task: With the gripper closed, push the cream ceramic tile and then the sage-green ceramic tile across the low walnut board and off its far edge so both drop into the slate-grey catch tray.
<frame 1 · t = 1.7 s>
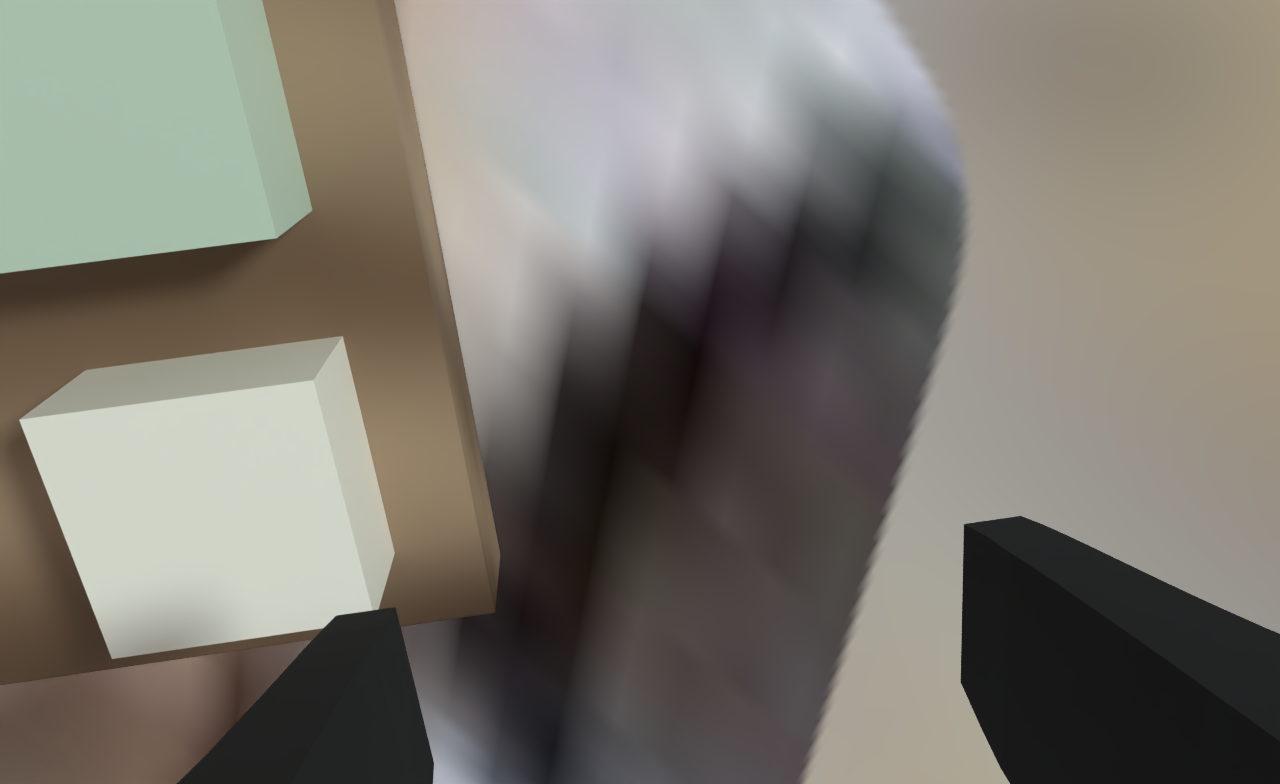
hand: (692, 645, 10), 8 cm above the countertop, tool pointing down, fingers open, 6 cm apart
cream tile: (248, 466, 16), point 2 cm above the countertop, touching walnut board
green tile: (136, 87, 13), point 2 cm above the countertop, touching walnut board
walnut board: (186, 296, 16), on the countertop
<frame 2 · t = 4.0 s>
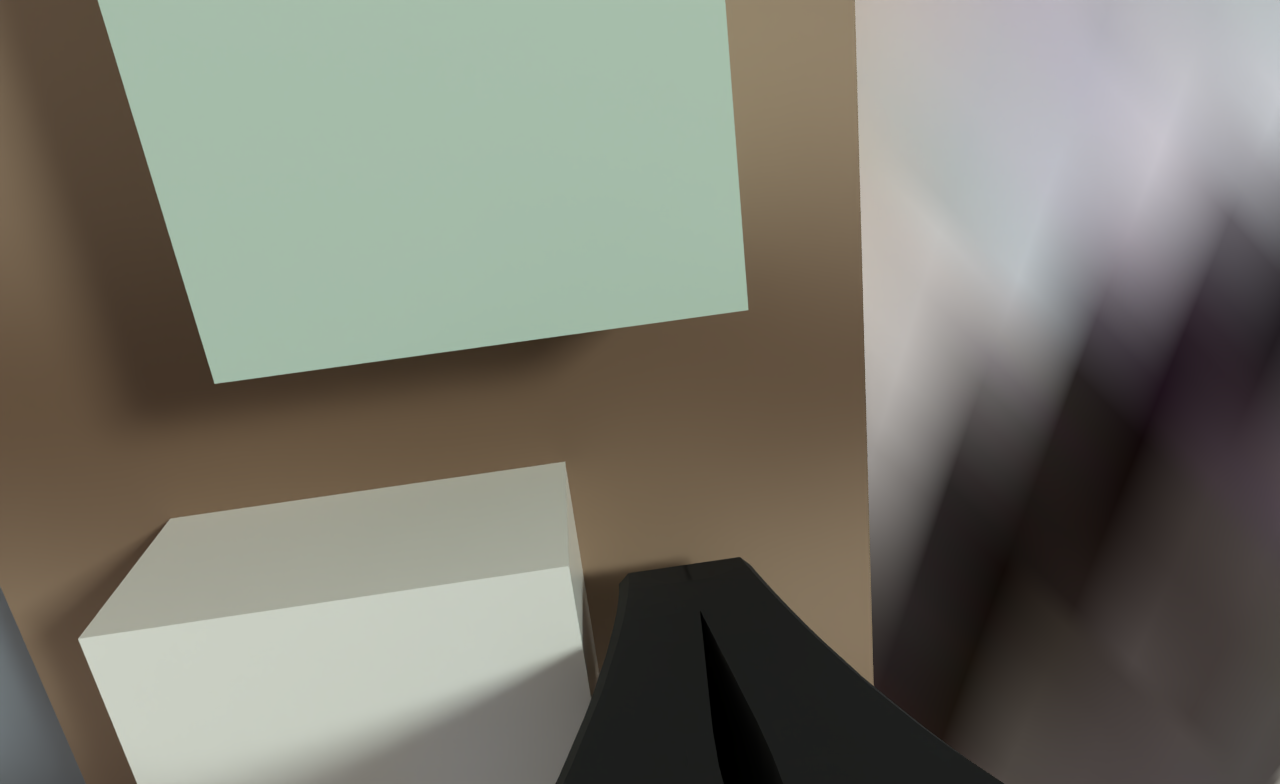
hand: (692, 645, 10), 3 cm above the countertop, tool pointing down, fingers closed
cream tile: (409, 651, 10), point 2 cm above the countertop, touching gripper, walnut board
green tile: (458, 56, 8), point 2 cm above the countertop, touching walnut board
walnut board: (444, 369, 11), on the countertop
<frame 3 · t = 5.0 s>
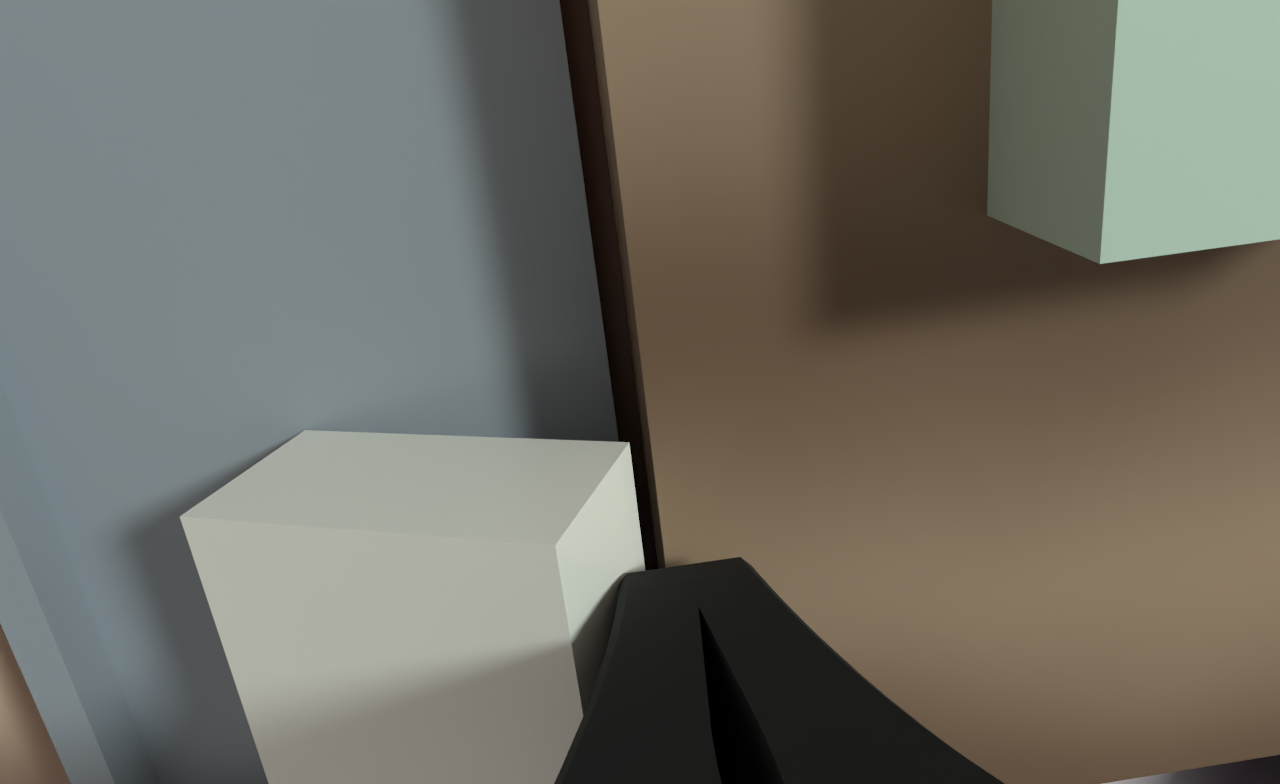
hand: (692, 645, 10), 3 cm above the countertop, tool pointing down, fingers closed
cream tile: (487, 589, 11), point 1 cm above the countertop, tilted 23°, touching gripper
catch tray: (284, 310, 11), on the countertop
walnut board: (992, 295, 12), on the countertop
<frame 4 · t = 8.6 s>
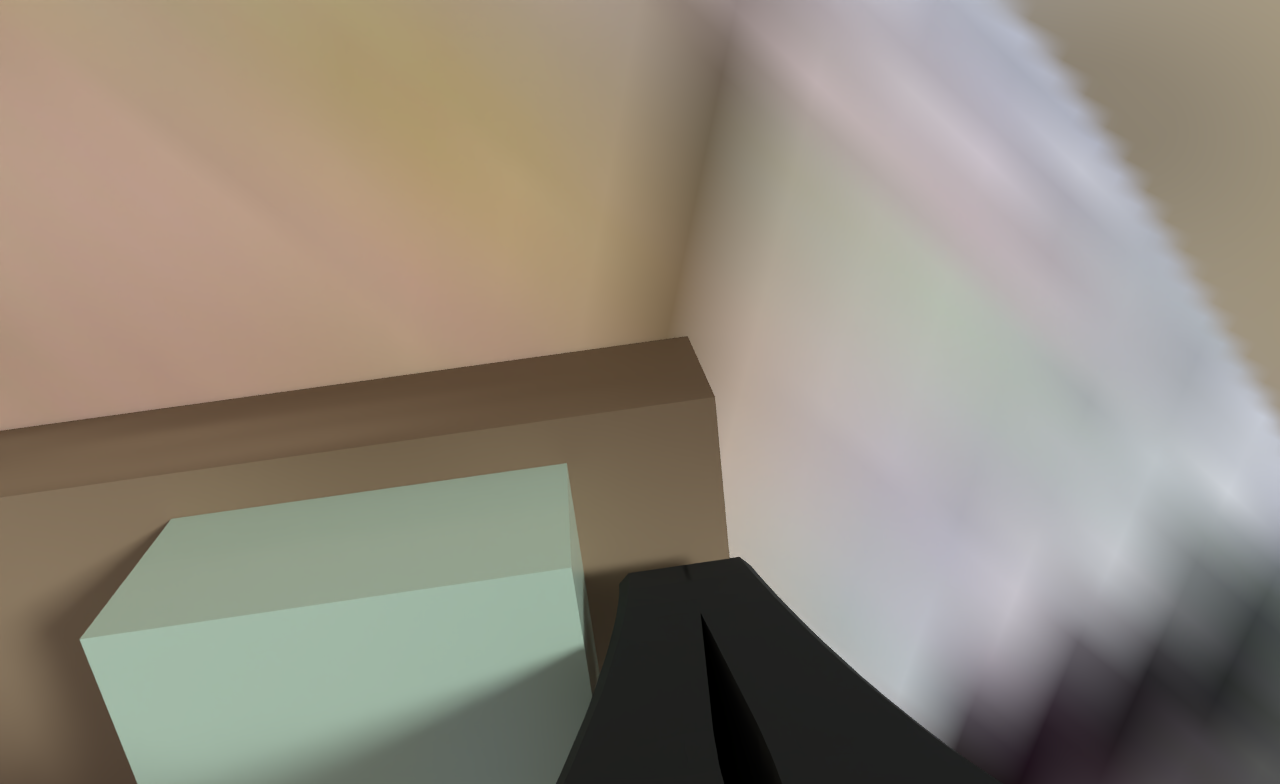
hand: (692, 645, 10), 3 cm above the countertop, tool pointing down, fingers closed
green tile: (410, 652, 10), point 2 cm above the countertop, touching gripper
walnut board: (415, 776, 13), on the countertop
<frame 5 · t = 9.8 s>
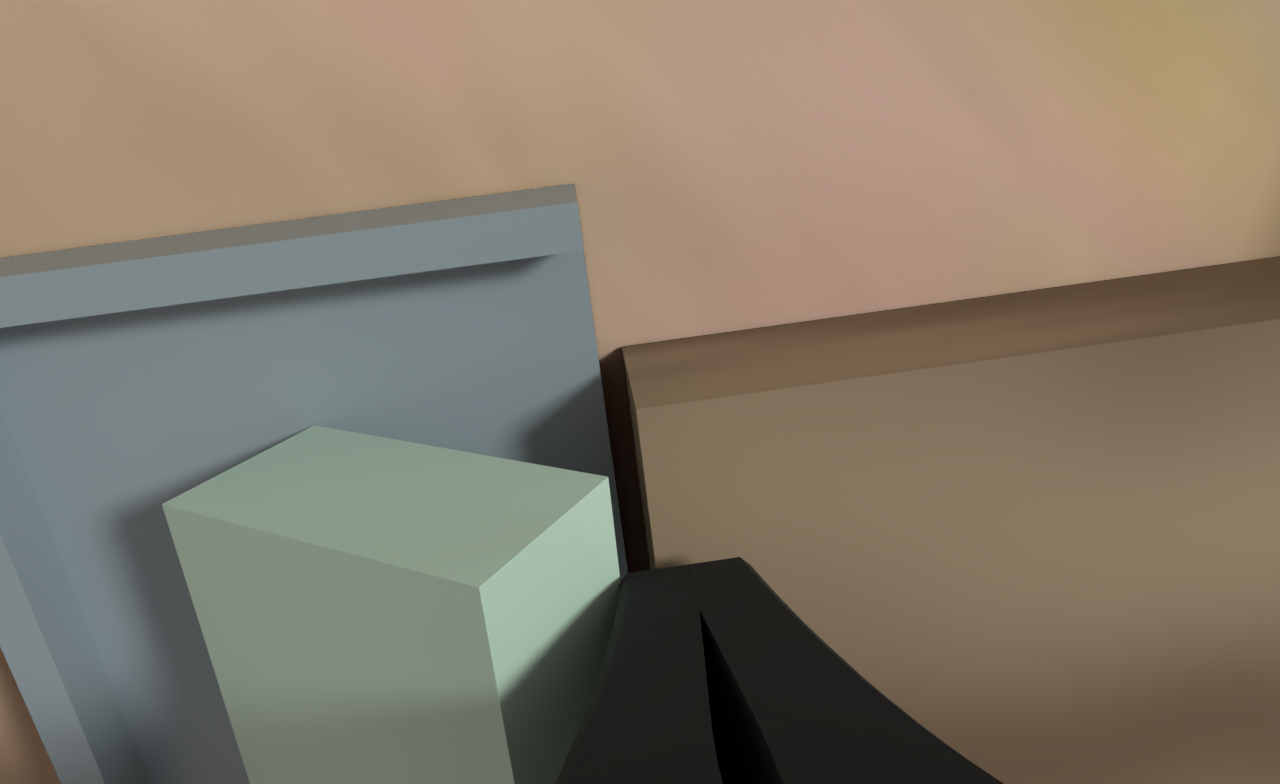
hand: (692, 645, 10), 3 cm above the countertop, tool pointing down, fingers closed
catch tray: (386, 723, 13), on the countertop
green tile: (476, 607, 11), point 2 cm above the countertop, tilted 34°, touching gripper
walnut board: (974, 689, 14), on the countertop
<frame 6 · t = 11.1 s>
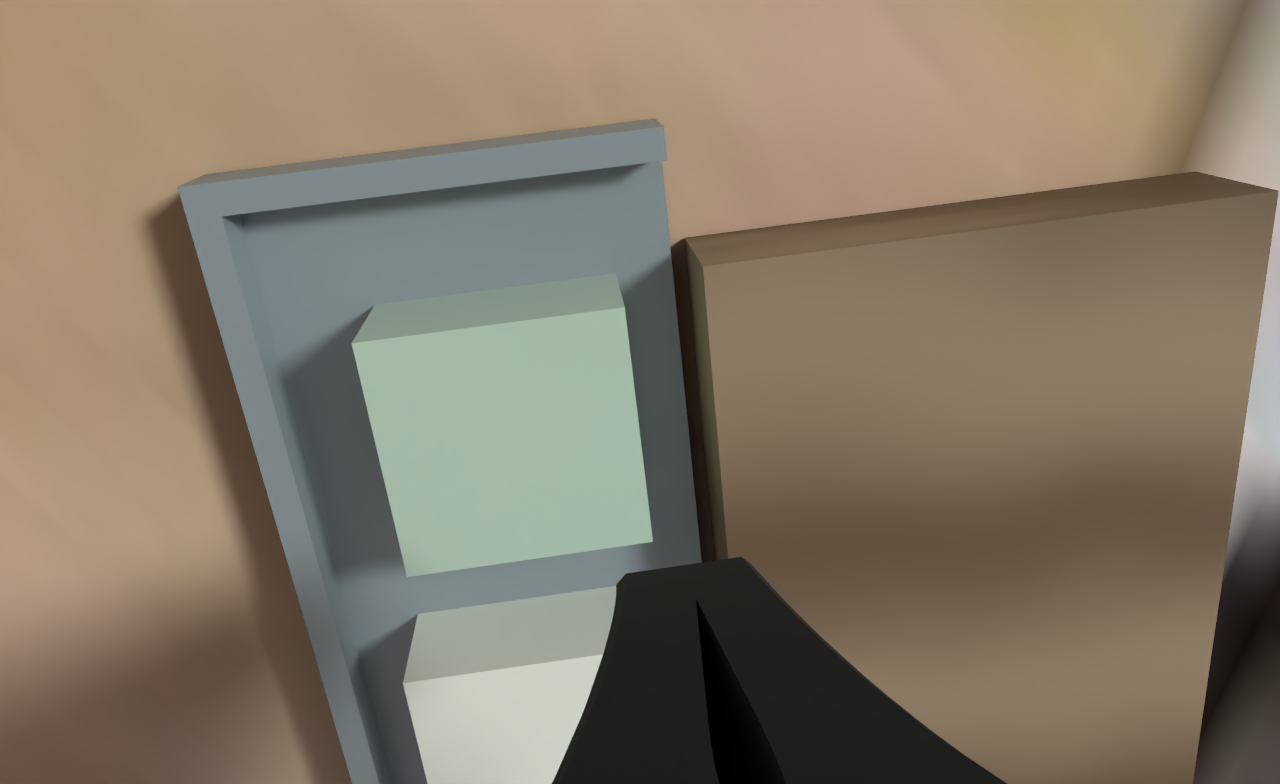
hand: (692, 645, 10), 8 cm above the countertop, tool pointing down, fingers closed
cream tile: (538, 684, 19), resting on catch tray
catch tray: (504, 526, 18), on the countertop
green tile: (515, 399, 16), resting on catch tray
walnut board: (939, 509, 18), on the countertop
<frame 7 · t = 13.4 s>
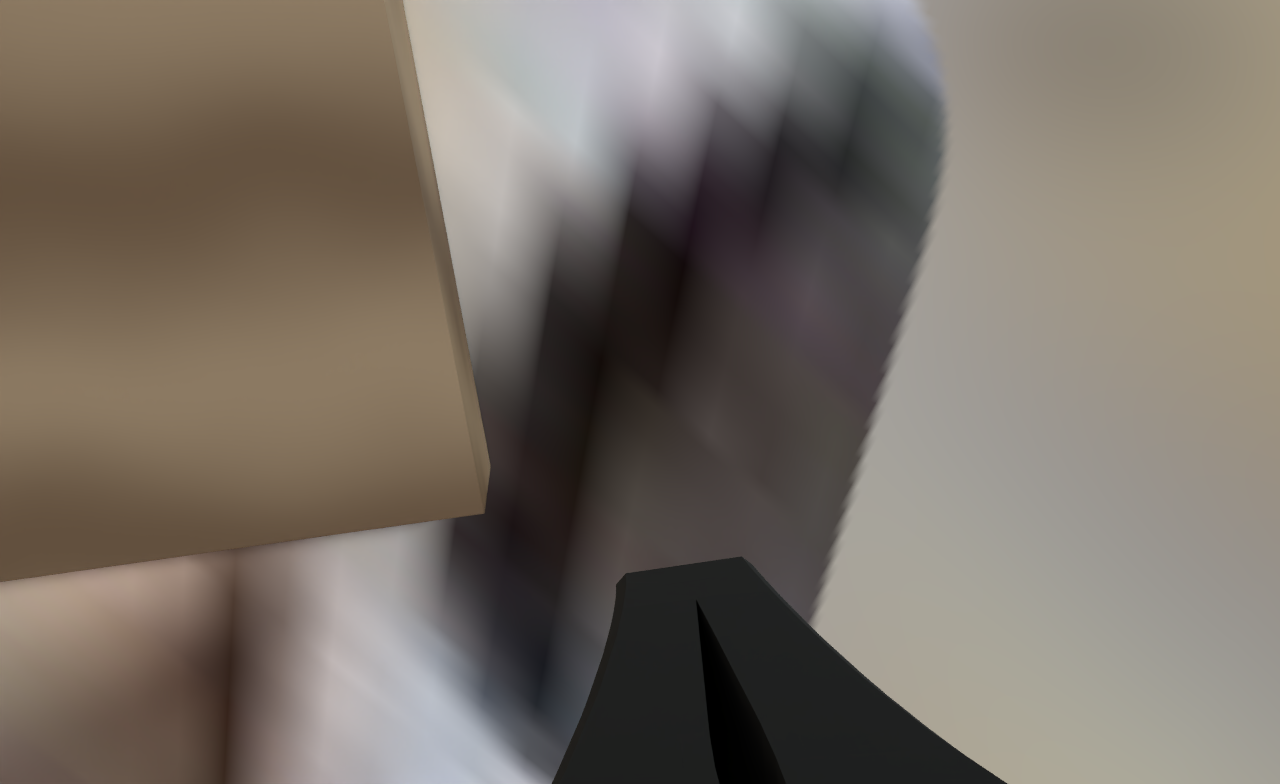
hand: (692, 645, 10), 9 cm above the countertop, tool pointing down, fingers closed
walnut board: (182, 201, 17), on the countertop
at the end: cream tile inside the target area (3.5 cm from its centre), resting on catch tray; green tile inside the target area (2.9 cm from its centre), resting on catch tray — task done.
